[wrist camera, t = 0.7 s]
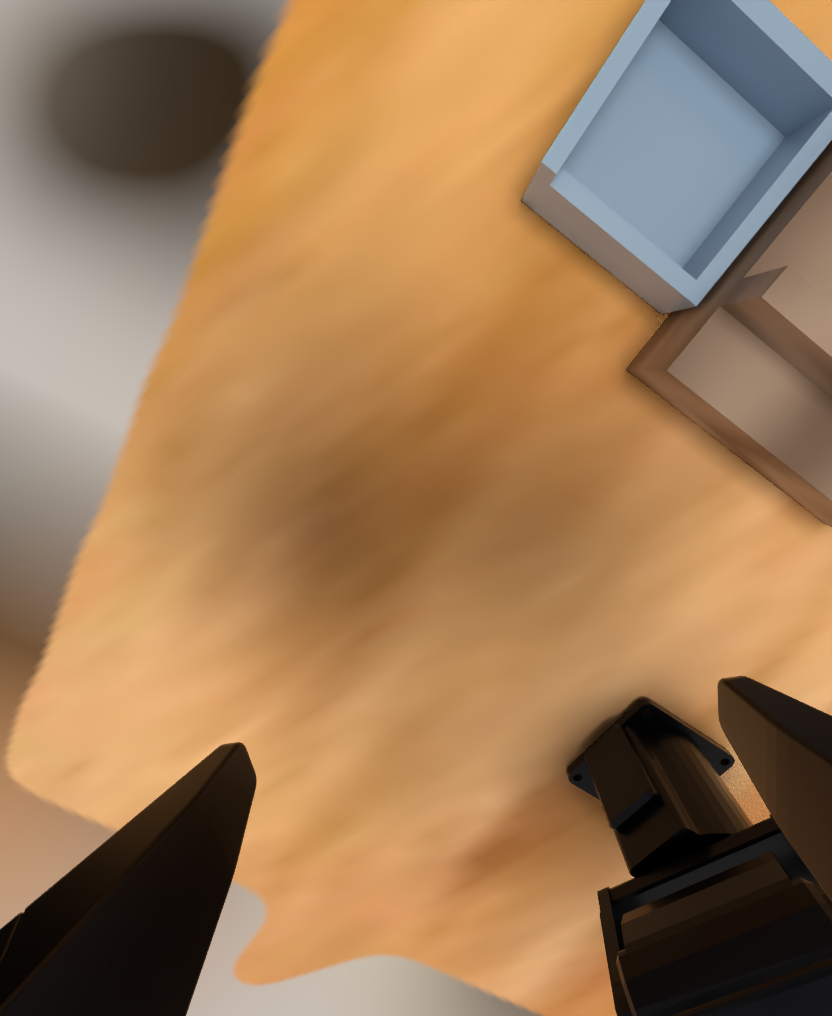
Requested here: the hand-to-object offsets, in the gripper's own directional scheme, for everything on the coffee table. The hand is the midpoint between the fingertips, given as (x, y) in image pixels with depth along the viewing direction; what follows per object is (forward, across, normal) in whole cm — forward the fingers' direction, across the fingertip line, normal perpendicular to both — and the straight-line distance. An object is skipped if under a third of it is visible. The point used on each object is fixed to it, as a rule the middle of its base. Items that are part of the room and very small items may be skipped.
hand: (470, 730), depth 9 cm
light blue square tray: (+13, -10, -12) cm, 20 cm away
